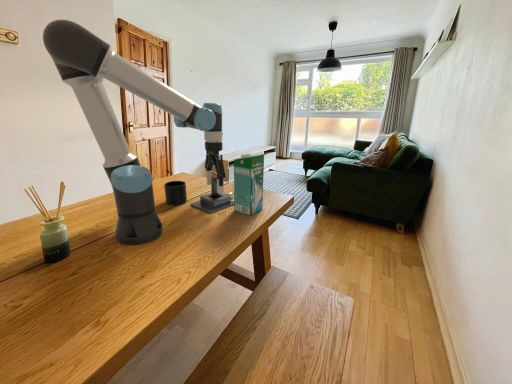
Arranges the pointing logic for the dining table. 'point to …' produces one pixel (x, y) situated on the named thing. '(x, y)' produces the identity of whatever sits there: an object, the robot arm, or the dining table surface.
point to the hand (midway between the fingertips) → (214, 188)
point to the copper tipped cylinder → (214, 185)
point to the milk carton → (248, 183)
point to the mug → (175, 192)
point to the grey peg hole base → (214, 202)
